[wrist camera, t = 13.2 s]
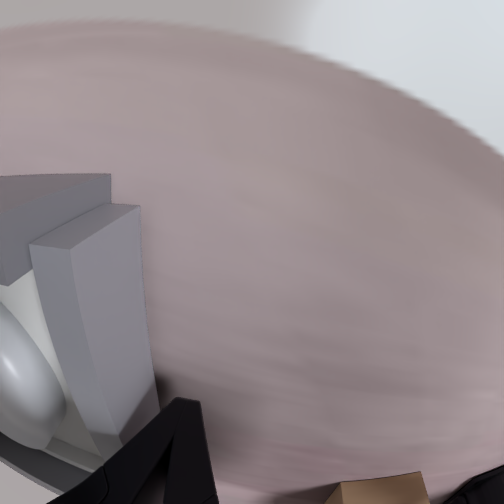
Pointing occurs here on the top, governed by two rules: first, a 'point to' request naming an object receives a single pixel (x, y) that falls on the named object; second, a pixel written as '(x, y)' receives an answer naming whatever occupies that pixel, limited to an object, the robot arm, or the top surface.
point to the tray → (91, 330)
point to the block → (382, 491)
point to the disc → (27, 387)
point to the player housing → (19, 263)
